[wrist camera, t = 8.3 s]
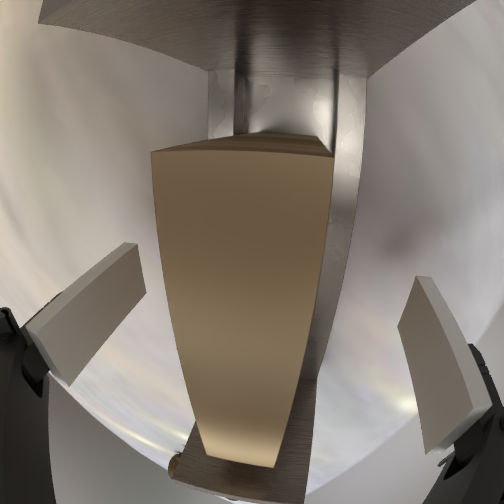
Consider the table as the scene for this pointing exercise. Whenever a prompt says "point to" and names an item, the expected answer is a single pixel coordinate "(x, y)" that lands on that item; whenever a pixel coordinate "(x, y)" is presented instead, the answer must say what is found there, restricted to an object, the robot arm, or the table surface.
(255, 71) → the grey u-shaped piece
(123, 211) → the table surface
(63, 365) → the robot arm
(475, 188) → the table surface
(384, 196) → the table surface
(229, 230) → the door panel
